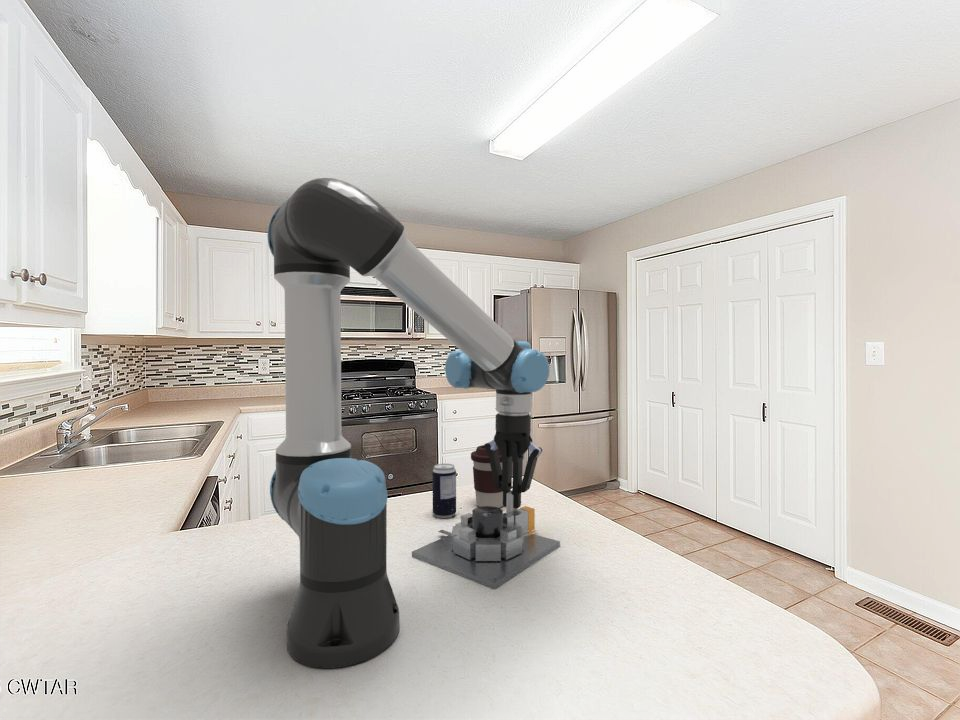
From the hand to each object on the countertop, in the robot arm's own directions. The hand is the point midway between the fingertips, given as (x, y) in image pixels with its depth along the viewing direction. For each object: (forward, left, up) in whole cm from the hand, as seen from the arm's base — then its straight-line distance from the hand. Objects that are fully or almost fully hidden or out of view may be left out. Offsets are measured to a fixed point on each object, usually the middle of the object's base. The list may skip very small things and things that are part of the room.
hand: (511, 522), depth 102 cm
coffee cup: (+13, +16, -3) cm, 21 cm away
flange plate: (-9, 0, -3) cm, 9 cm away
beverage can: (0, +20, -3) cm, 20 cm away
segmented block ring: (-7, -1, -2) cm, 7 cm away
